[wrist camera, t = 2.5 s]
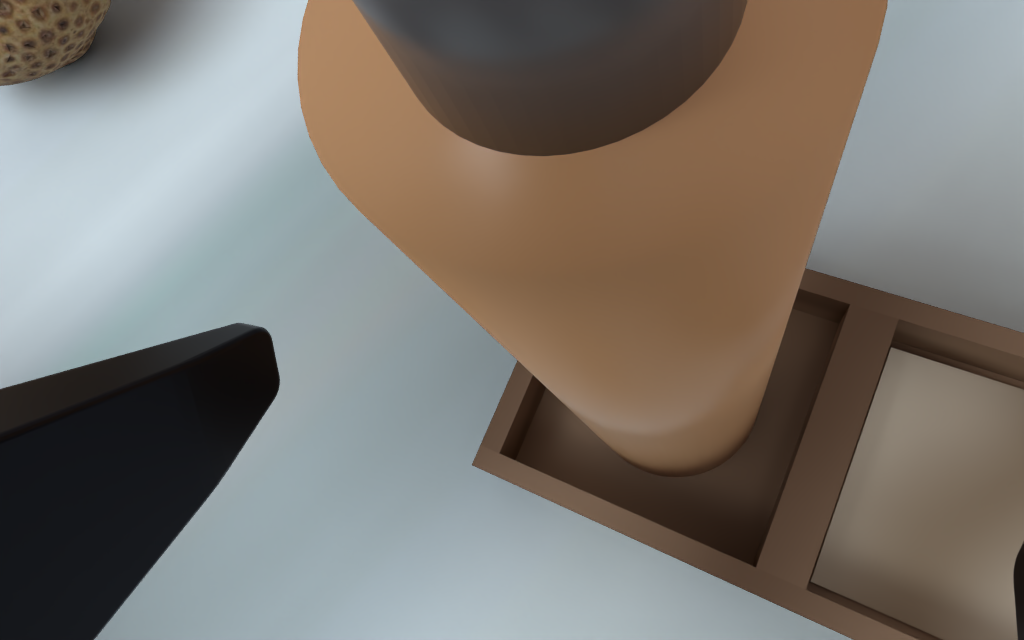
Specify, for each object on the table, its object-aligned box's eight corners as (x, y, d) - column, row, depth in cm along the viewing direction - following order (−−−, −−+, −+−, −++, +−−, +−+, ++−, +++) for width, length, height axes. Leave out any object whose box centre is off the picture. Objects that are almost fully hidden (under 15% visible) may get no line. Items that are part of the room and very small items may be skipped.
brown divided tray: (1213, 426, 15) (1281, 409, 14) (1127, 761, 14) (1189, 793, 12) (598, 234, 20) (586, 203, 18) (495, 472, 19) (471, 465, 17)
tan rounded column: (777, 461, 17) (1237, -145, 2) (607, 489, 18) (49, 199, 3) (736, 300, 18) (835, -784, 3) (579, 333, 19) (98, -420, 4)
